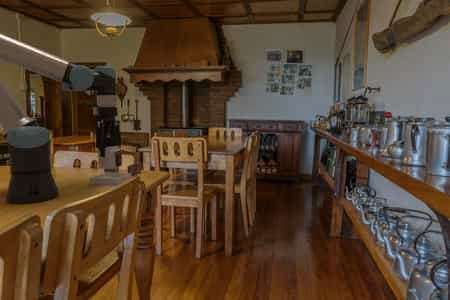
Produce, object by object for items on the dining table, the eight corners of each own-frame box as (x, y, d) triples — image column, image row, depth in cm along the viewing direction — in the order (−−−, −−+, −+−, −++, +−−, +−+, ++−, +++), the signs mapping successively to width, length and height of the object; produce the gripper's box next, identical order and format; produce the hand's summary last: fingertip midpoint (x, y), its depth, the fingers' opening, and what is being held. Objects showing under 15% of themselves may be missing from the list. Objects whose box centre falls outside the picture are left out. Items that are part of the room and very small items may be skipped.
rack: (130, 177, 140) (130, 166, 140) (104, 176, 143) (103, 165, 142) (141, 172, 150) (140, 162, 149) (116, 171, 153) (116, 161, 152)
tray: (116, 185, 126) (116, 179, 126) (88, 183, 128) (88, 178, 128) (131, 178, 138) (131, 173, 137) (105, 177, 140) (105, 172, 140)
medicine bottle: (116, 168, 129) (114, 138, 127) (98, 168, 129) (96, 138, 127) (122, 165, 136) (121, 137, 134) (105, 165, 136) (103, 137, 134)
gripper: (100, 106, 118) (104, 168, 121) (128, 106, 138) (131, 159, 141) (82, 106, 120) (86, 167, 123) (112, 106, 140) (115, 158, 143)
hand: (110, 163), depth 132 cm, fingers closed on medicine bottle, 8 cm apart
